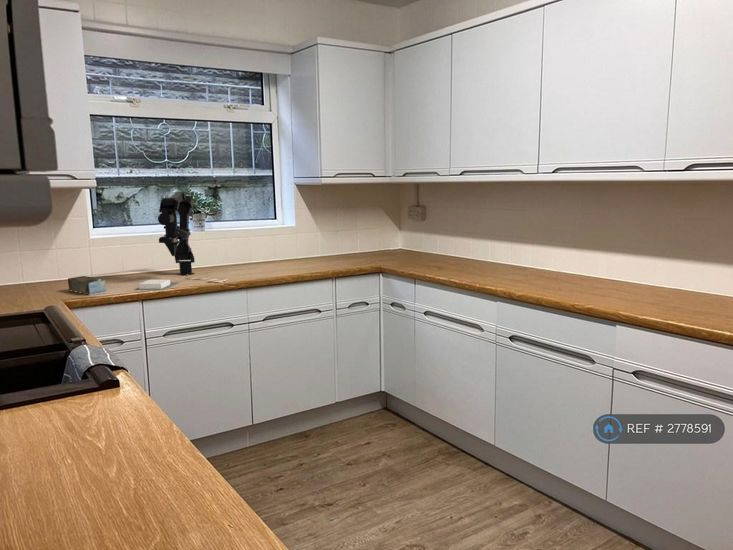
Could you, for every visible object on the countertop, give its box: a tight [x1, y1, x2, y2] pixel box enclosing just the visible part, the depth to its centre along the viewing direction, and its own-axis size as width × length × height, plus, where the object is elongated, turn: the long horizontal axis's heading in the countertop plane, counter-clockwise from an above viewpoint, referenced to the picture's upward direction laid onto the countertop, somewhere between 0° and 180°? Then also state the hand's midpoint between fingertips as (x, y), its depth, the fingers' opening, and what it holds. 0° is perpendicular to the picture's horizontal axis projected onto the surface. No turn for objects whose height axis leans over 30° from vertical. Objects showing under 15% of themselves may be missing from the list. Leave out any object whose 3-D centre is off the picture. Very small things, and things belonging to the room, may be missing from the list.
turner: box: [185, 277, 229, 284], centre depth 284 cm, size 22×7×1 cm, turn 69°
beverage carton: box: [67, 275, 107, 294], centre depth 260 cm, size 8×19×7 cm, turn 52°
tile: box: [138, 279, 171, 291], centre depth 266 cm, size 2×10×11 cm
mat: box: [134, 281, 181, 291], centre depth 270 cm, size 20×14×1 cm
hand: (173, 256), depth 286 cm, fingers closed
